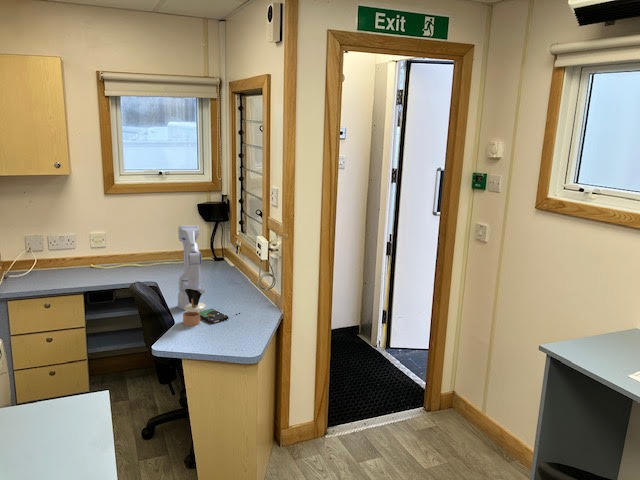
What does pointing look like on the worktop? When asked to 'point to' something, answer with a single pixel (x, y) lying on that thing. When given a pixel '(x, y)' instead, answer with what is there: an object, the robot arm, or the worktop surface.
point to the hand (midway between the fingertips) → (193, 303)
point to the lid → (194, 307)
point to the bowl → (191, 318)
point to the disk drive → (212, 316)
